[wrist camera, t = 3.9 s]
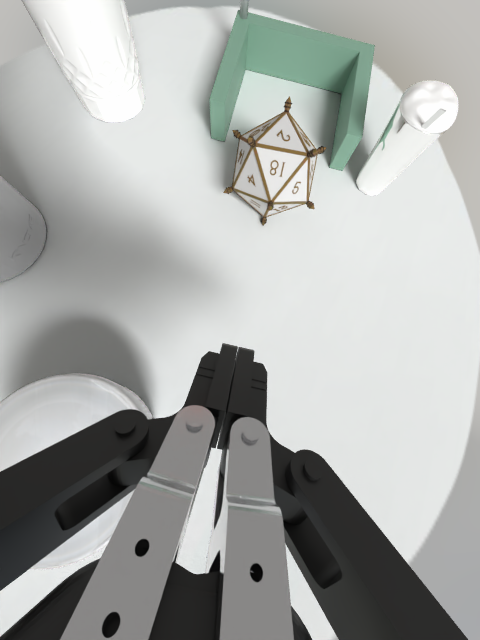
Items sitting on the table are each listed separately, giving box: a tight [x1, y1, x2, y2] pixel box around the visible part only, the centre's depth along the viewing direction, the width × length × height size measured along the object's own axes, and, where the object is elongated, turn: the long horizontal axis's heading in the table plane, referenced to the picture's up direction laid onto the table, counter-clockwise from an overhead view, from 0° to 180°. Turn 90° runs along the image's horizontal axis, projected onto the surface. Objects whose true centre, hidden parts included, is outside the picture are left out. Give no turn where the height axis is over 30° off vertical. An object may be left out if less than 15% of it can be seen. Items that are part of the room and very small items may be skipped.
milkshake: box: [356, 80, 458, 196], centre depth 22 cm, size 4×5×10 cm
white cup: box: [22, 0, 146, 122], centre depth 23 cm, size 8×8×10 cm
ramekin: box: [0, 373, 153, 570], centre depth 18 cm, size 11×11×5 cm
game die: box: [223, 96, 326, 225], centre depth 22 cm, size 9×8×10 cm
